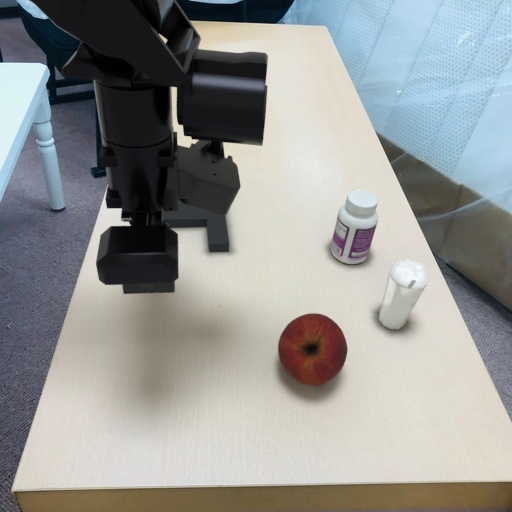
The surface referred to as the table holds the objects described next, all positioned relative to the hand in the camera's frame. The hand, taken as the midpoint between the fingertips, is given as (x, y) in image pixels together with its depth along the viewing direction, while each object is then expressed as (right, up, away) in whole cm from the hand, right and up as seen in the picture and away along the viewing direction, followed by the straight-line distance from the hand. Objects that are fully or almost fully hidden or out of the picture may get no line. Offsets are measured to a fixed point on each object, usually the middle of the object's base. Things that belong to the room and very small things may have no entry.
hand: (149, 268), depth 52 cm
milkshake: (+28, -7, +12) cm, 31 cm away
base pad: (0, +7, +24) cm, 25 cm away
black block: (0, -1, +1) cm, 1 cm away
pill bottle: (+24, +2, +21) cm, 32 cm away
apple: (+17, -12, +6) cm, 21 cm away
